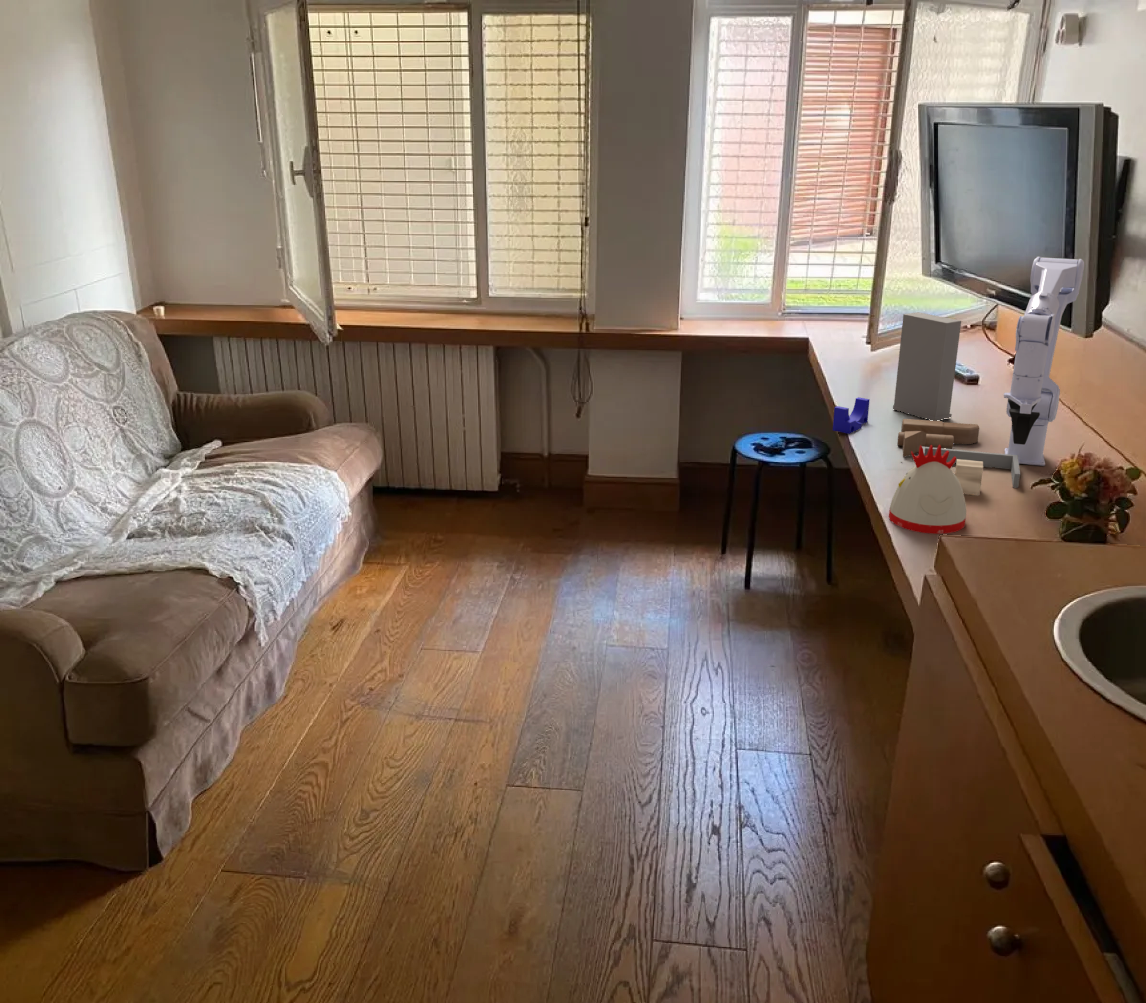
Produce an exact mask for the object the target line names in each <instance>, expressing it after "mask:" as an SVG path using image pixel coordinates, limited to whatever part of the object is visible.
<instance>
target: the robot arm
mask: <svg viewBox="0 0 1146 1003" xmlns="http://www.w3.org/2000/svg"><path fill="white" fill-rule="evenodd" d="M1084 271H1085V261H1084V260H1083V259H1082V258H1077V259H1074V258H1060V257H1059V258H1058V257H1057V258H1056V257H1055V258H1054V257H1042V256H1036V258H1034V260H1033V261H1032V266H1031V270H1030V277H1029V280H1030V293H1031V297H1030V298H1029V301H1028V304H1027V306H1026V309H1025V311H1024V315H1020V316H1018V320H1017V324H1016V329H1015V347H1014V352H1016V353H1015V355H1014V356H1015V358H1014V364H1013V371H1012V377H1011V378H1012V379H1011V385H1010V391H1009V392H1004V393H1003V398H1004V399H1007V402H1006V409H1005V410H1006V411H1005V412H1006V415H1007V416H1008V418H1010V421H1011V427H1010V436H1009V440H1008V447H1005V448H1004V454H1010V455H1018V462H1019V465H1021V464H1023V465H1031V466H1041V467H1042V466H1043V467H1044V466H1046V461H1045V456H1044V449H1045V444H1046V437H1047V432H1048V424H1049V423H1052V422H1054V421H1055V420H1056V417H1057V413H1058V409H1059V404H1060V402H1059V401H1060V394H1061V390H1060V389H1061V388H1060V386H1059V385H1058V384H1057V383H1056V382H1055V381H1054V380H1052V378H1051V377H1050V375H1051V369H1052V366H1053V360H1054V355H1055V352H1056V347H1057V340H1058V337H1059V336H1058V335H1059V332H1060V326H1061V321H1062V316H1063V314H1064V311H1065V309H1066V308H1067V305H1068V304H1070V303H1073V302H1075V301H1077V298H1078V296H1080V295H1079V293H1080V290H1081V285H1082V281H1083V277H1084Z"/></svg>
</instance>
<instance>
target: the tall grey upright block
mask: <svg viewBox="0 0 1146 1003" xmlns="http://www.w3.org/2000/svg"><path fill="white" fill-rule="evenodd" d="M902 315H903V316H902V325H901V334H900V335H901V336H900V346H899V354H898V363H897V372H896V382H895V390H894V391H895V392H894V399H893V401H894V402H893V403H894V404H893V405H892V410H893V409H894V410H897V411H896V412H900V411H901V412H900V413H903V412H905V413H904V414H907V413H909V414H908V415H910V414H912V415H911V416H913V415H916V416H919V417H918V418H920V417H923V418H927V419H930V420H933V421H937V420H941V419H944V418H949V417H951V418H952V415H953V414H952V413H951V406H952V396H953V390H954V384H955V375H956V374H955V373H956V366H957V359H958V350H959V343H960V335H961V334H960V333H961V326H962V320H960V319H953V318H949V317H944V316H939V315H936V314H931V313H930V314H929V313H923V312H919V311H917V312H916V311H915V312H910V313H903V314H902ZM894 410H893V411H894ZM916 416H915V417H916ZM923 418H922V419H923Z"/></svg>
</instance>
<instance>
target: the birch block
mask: <svg viewBox="0 0 1146 1003" xmlns="http://www.w3.org/2000/svg"><path fill="white" fill-rule="evenodd" d="M983 471H984V467H983V462H982V461H971V460H961V459H957V463H956V464H955V472H954V474H955V476H956V477H957V479H958V480H959V482H960V484H961V487H962V490H963V493H965V494H964V495H969V494H974V495H973V496H980V491H981V485H982V480H983V479H982V477H983Z"/></svg>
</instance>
